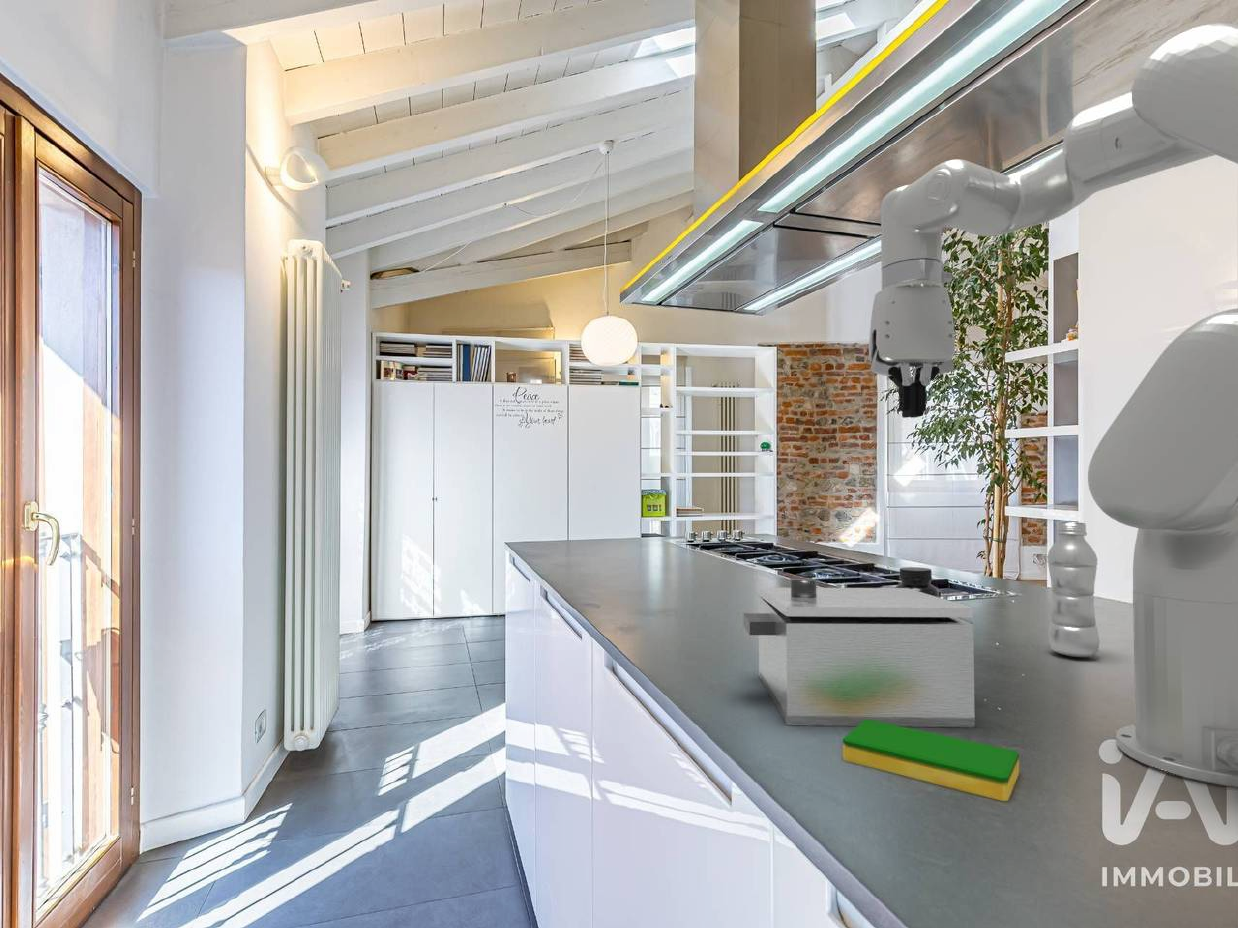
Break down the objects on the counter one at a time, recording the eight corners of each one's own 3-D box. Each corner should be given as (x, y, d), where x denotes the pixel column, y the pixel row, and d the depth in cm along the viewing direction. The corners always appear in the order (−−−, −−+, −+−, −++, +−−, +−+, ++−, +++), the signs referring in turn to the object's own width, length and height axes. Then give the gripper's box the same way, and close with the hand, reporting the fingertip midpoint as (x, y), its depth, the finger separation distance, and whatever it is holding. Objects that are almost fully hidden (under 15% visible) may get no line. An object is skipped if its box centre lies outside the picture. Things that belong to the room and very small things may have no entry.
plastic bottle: (1050, 658, 100) (1048, 523, 100) (1046, 648, 106) (1044, 521, 106) (1103, 664, 97) (1101, 524, 97) (1096, 653, 103) (1093, 522, 103)
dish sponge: (866, 741, 70) (865, 717, 70) (1019, 777, 62) (1019, 750, 62) (841, 764, 64) (841, 738, 64) (1007, 807, 56) (1006, 777, 56)
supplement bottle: (921, 636, 114) (920, 565, 115) (950, 645, 108) (949, 570, 108) (885, 638, 113) (884, 566, 113) (912, 648, 106) (911, 572, 106)
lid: (973, 617, 73) (972, 589, 73) (786, 616, 74) (785, 588, 74) (908, 595, 91) (907, 573, 91) (758, 594, 92) (758, 572, 92)
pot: (1003, 727, 72) (1001, 624, 73) (759, 724, 73) (758, 623, 74) (931, 677, 90) (930, 595, 91) (736, 676, 91) (736, 594, 92)
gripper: (954, 288, 95) (955, 419, 95) (847, 289, 95) (848, 419, 95) (981, 272, 87) (983, 414, 87) (865, 273, 88) (866, 414, 87)
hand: (912, 416), depth 91 cm, fingers closed
